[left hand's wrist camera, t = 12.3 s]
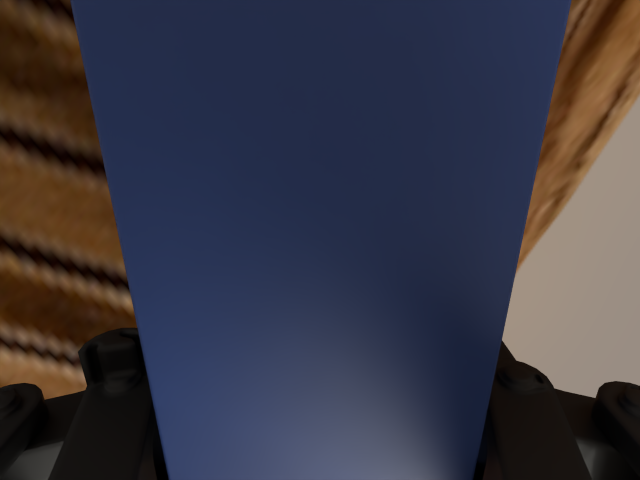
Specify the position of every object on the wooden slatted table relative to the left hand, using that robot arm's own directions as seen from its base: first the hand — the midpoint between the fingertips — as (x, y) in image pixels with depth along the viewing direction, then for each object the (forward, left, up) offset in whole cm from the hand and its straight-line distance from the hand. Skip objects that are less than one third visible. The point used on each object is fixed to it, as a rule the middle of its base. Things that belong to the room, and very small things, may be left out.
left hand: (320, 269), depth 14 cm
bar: (-3, +9, -1) cm, 10 cm away
